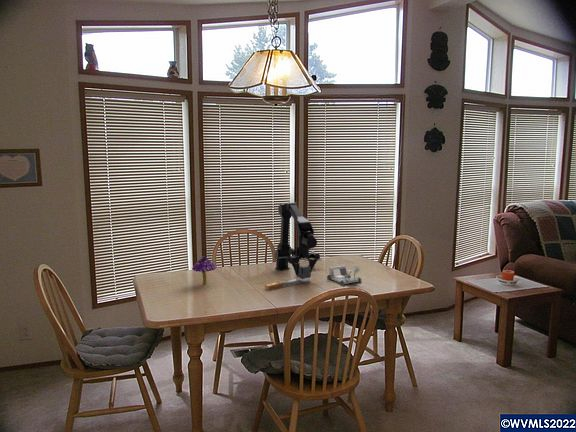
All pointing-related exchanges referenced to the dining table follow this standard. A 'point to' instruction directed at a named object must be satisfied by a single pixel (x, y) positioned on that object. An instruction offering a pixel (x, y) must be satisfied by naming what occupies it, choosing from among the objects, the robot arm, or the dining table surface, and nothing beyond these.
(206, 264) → the purple mushroom
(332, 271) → the toy car
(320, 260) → the pipe connector
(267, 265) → the dining table surface
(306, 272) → the dark grey block
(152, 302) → the dining table surface
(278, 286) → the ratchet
